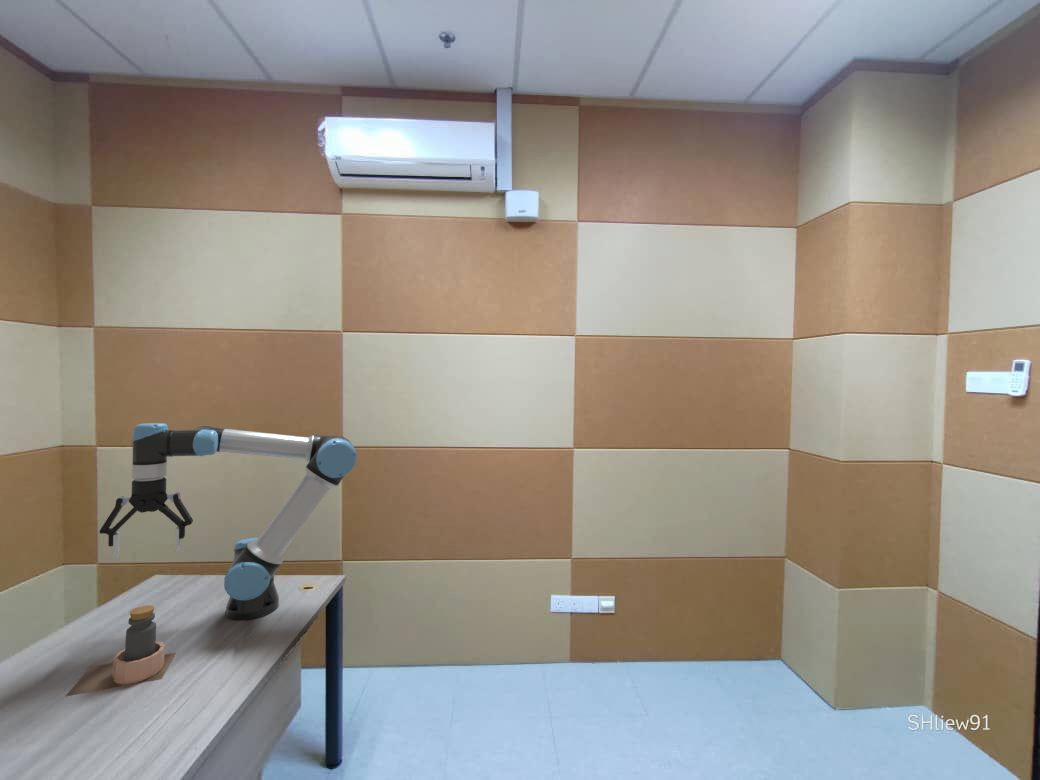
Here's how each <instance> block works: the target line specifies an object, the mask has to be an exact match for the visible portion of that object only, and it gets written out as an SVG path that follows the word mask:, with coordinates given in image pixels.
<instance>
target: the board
mask: <svg viewBox="0 0 1040 780" xmlns="http://www.w3.org/2000/svg"><path fill="white" fill-rule="evenodd" d="M176 655H177V652H172V653H165V658H164V664H163V668H162V670H161V671H160V672H159V673H157V674H156V675H154V676H152V677H151V678H148V679H146V680H144V681H141V682H137V683H133V684H127V685H120V684H116V683H114V681H113V677H112V675H113V662H110V663H105V664H98V665H93V666H90V667H89V668H88V669H87V670H86V672H84V673H83V675H82V676H81V677H80V678H79V679H78V681H77V682H76V683H75V684H74V686H72V688H71V689H70V690H69V691H68V692H67V694H65V697H69V696H71V697H72V696H74V695H81V694H82V695H83V694H86V693H92V692H93V693H94V692H98V691H103V690H108V689H113V688H120V687H125V686H131V685H136V684H141V683H146V682H153V681H157V680H162V679H163V678H164V676H165V673H166V672H167V671H168V669H169V667H170V665H171V663H172V662H173V660H174V658H175V656H176Z"/></svg>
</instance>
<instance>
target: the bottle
mask: <svg viewBox="0 0 1040 780" xmlns="http://www.w3.org/2000/svg"><path fill="white" fill-rule="evenodd" d="M154 610H155V606H154V605H150V604H149V605H141V606H138V607H135V608H134V609H131V610H130V611H129V616H130V617H129V619H128V625H130V626H129V627H128V628H127V629H126V631H125V645H124V649H125V661H126V662H129V661H135V660H140V659H143V658H146V657H149V656H151V655H152V654H154V653H155V643H156V639H157V637H156V636H157V623H156V622H155V621H154V619H155V618H156V614H155V612H154Z"/></svg>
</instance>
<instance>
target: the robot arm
mask: <svg viewBox="0 0 1040 780" xmlns="http://www.w3.org/2000/svg"><path fill="white" fill-rule="evenodd" d="M132 435H133V437H132V440H131V442H132V463H131V464H132V466H131V468H132V469H131V478H132V479H133V480H132V481H131V496H130V497H125V496H119V497H117V499H116V500H115V505H114V506H115V507H113V509H112V511H111V512H110V514H109V515H108V517H107V518H106V520H105V521H104V523H103V524H102V527H101V528H100V529H99V534H102V535H103V534H106V535H107V537H108V544H107V545H108V546H109V547H110V548H111V547H112V560H117V559H118V558H119V557H120V555H121V553H120V552H121V532H120V531H119V529H120V528H121V527H122V526H124V525H125V524H126V523H127V522H128V521H129V520H130V519H131V518H132V516H134V514H136V513H137V512H139V513H140V514H141V513H143V514H144V513H147V512H151V513H153V512H157V511H159V512H160V513H162V514H164V515H165V517H166V518H167V519H169V520H170V521H171V522H172V523H174V524H175V526H176V528H175V537H174V539H175V542H174V543H175V545H174V547H175V548H174V552H179V551H180V550H181V539H184V538H185V536H186V527H188V526H190V525H191V524H192V523H193V522H194V519H193V518H192V516H191V514H190V512H189V511H188V509H187V508H186V507H185V505H184V503H183V502H182V500H181V494H180V492H176V493H173V494H167V478H166V476H167V469H168V468H167V466H168V465H167V463H168V462H167V461H168V457H170V458H171V457H198V456H199V457H204V456H211V455H212V456H213V455H216V453H217V452H218V453H230V454H231V453H232V454H241V455H251V456H252V455H253V456H263V457H264V456H265V457H277V458H286V459H297V460H305V461H306V462H307V464H306V466H305V471H306V473H305V475H304V477H303V478H302V479H301V481H299V483H298V485H297V486H296V487H295V489H294V490H293V491H292V493H291V494H290V495H289V497H288V498H287V499H286V501H285V502H284V504H283V505H282V506H281V508H279V510H278V511H277V513H276V514H275V515H274V517H273V518H272V519H271V520H270V522H269V523H268V525H267V526H266V527H265V529H264V530H263V531H262V533H261V534H260V536H259V537H251V538H249V537H248V538H245V539H241V540H238V541H237V542H235V544H234V549H233V552H234V553H233V554H234V557H233V560H232V562H231V564H230V566H229V568H228V569H227V571H226V573H225V576H224V578H223V579H224V580H223V586H224V587H223V588H224V591H225V592H226V593H227V595H228V596H229V598H228V601H227V603H226V607H225V616H226V617H227V618H228V619H231V620H234V621H235V620H237V621H243V620H244V621H245V620H252V619H257V618H260V617H264V616H266V615H268V613H269V614H271V613H272V612H274V611H275V610H277V608H278V607H279V605H280V597H279V594H278V590H277V587H276V586H275V573H276V571H278V569H279V567H280V566H281V565H282V563H283V561H284V558H283V553H284V552H285V551H286V550H287V549H288V547H289V545H290V544H291V542H292V541H293V540H294V538H295V537H296V535H297V534H298V533H299V531H300V530H301V529H302V527H303V526H304V525H305V523H306V522H307V520H308V519H309V518H310V517H311V515H312V514H313V512H314V511H315V509H316V508H317V507H318V505H319V504H320V503H321V501H322V500H323V498H324V497H325V496H326V495H327V493H328V492H329V491H330V489H331V488H334V487H335V488H336V487H338V486H339V484H340V483H341V482H342V481H343V479H344V478H345V476H346V475H349V474H350V473H351V471H352V470H353V469H354V467H355V466H356V463H357V459H358V458H357V457H358V456H357V450H356V448H355V446H354V445H353V443H352V442H351V441H350V440H349V439H348V438H346V437H344V436H341V435H318V434H312V435H310V436H300V435H299V436H298V435H290V434H279V433H269V432H261V431H260V432H259V431H251V430H242V429H241V430H240V429H234V428H232V429H231V428H221V427H214V426H212V425H201V426H197V427H195V428H193V429H184V430H183V429H181V430H177V429H176V430H173V429H172V430H171V429H169V428H168V424H166V423H163V422H161V423H160V422H159V423H158V422H152V423H151V422H148V423H140V424H136V425H135V426H134V427H133V433H132ZM167 500H170V502H171V503H173V505H174V506H175V508H176V509H177V511H178V513H179V514H180V516H181V517H180V516H179V515H178V514H177V513H175V512H174V511H173V510H172V509H171V508H170V507H169V506H168V505H167V504H166V501H167ZM127 503H129V504H130V505H131V506H132V508H131V510H129V511H128V513H126V514H125V515H124V516H123V518H122V517H121V519H120V520H119V521H118V522H117V523H116V524H115V525H114V526H113V527H112V528H111V526H112V524H113V523H114V521H115V519H116V518H117V517H118V514H119V513H120V511H121V510H122V508H123V507H124V506H125V505H127ZM117 531H118V532H117ZM273 610H274V611H273ZM270 612H271V613H270ZM263 615H264V616H263Z"/></svg>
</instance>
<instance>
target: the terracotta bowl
mask: <svg viewBox="0 0 1040 780" xmlns="http://www.w3.org/2000/svg"><path fill="white" fill-rule="evenodd" d="M165 652H166V645H165V644H164V643H163V642H162V641H156V643H155V653H154V654H152V655H151V656H149V657H146V658H143V659H140V660H135V661H129V662H126V661H125V648H124V649H123V650H121V651H118V652H117V653H116V654H115V656H114V657H112V663H113V675H112V677H113V681H114V683H116V684H120V685H126V686H128V685H127V684H131V685H134V684H133V683H137V682H141V681H144V680H146V679H148V678H151V677H152V676H154V675H156V674H157V673H159V672H160V671H161V670H162V668H163V664H164V658H165V654H166V653H165ZM137 684H138V683H137Z"/></svg>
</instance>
